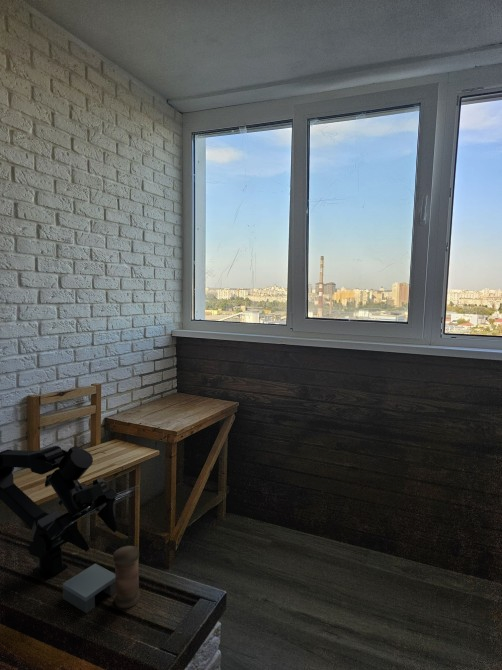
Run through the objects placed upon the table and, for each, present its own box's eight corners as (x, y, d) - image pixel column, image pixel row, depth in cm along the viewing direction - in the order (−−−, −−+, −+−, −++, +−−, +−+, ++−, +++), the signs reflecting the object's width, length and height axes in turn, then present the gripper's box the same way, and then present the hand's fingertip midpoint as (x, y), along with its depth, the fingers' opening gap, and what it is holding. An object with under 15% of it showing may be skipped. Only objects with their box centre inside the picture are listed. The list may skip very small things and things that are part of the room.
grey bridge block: (63, 598, 106) (62, 583, 105) (95, 577, 113) (95, 563, 113) (86, 613, 101) (85, 597, 100) (118, 590, 109) (118, 575, 108)
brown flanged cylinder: (109, 602, 104) (107, 555, 103) (129, 587, 109) (127, 543, 108) (126, 611, 101) (124, 563, 100) (145, 596, 106) (144, 550, 105)
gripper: (52, 487, 100) (89, 544, 96) (111, 459, 117) (144, 506, 113) (31, 512, 104) (66, 567, 100) (91, 481, 121) (122, 528, 117)
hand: (102, 540), depth 107 cm, fingers open, 9 cm apart
